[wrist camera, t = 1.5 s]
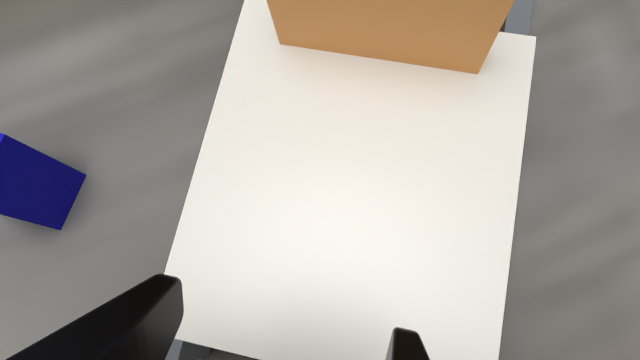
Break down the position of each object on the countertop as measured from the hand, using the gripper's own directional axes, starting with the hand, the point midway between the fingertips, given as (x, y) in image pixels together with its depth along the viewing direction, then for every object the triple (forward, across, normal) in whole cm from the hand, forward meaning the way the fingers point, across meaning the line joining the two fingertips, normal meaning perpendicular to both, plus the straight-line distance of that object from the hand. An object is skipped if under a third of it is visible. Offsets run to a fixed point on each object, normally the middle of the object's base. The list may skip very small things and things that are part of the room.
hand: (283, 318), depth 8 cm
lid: (+10, 0, +3) cm, 11 cm away
